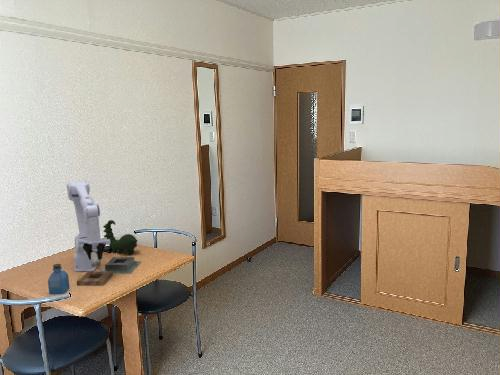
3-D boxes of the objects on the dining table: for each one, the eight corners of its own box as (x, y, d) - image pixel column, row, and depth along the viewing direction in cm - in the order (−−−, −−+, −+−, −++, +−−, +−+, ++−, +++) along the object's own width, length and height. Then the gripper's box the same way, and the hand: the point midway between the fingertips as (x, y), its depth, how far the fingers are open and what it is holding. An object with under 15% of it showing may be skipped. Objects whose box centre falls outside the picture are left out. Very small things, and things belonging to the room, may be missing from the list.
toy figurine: (102, 254, 234) (132, 257, 220) (97, 221, 232) (127, 223, 218) (115, 249, 242) (145, 252, 228) (111, 218, 240) (141, 219, 226)
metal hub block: (98, 273, 200) (97, 266, 200) (110, 262, 216) (110, 255, 215) (130, 273, 199) (130, 266, 199) (141, 262, 215) (140, 255, 214)
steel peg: (90, 266, 190) (88, 252, 189) (93, 263, 194) (92, 249, 193) (98, 266, 190) (97, 252, 189) (102, 263, 194) (100, 249, 193)
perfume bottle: (69, 288, 184) (66, 262, 182) (63, 293, 178) (61, 267, 176) (55, 288, 184) (52, 262, 182) (49, 294, 178) (46, 267, 176)
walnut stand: (77, 285, 187) (76, 281, 186) (88, 275, 198) (88, 271, 198) (103, 285, 186) (102, 281, 186) (113, 275, 198) (112, 271, 197)
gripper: (73, 233, 186) (76, 262, 188) (105, 233, 185) (107, 262, 187) (80, 229, 193) (83, 256, 195) (111, 228, 192) (113, 256, 194)
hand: (95, 259), depth 192 cm, fingers closed on steel peg, 4 cm apart
